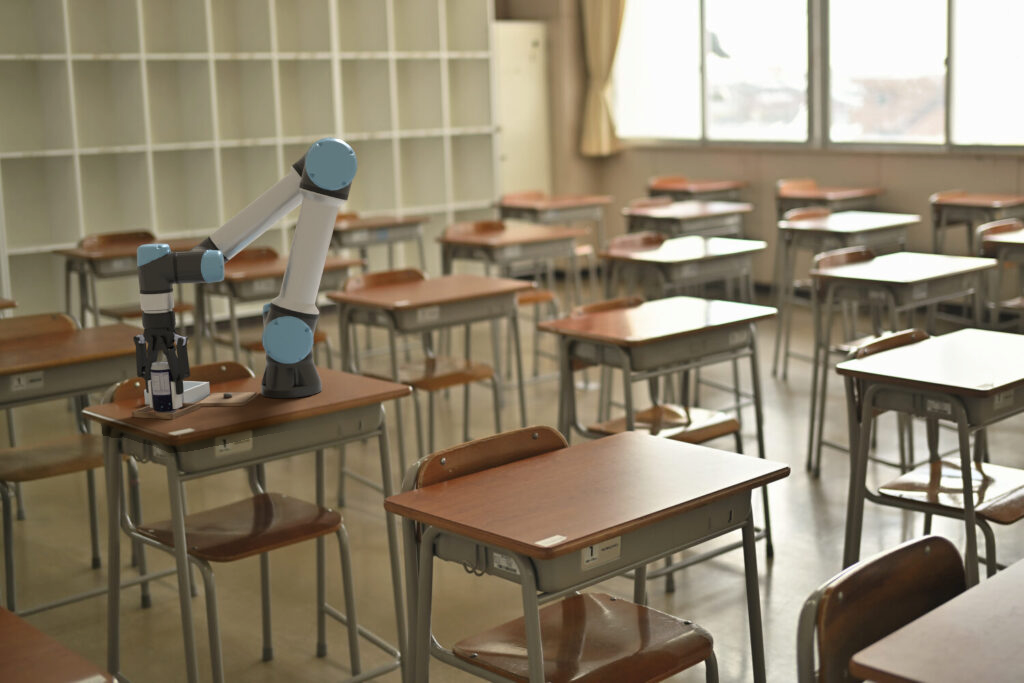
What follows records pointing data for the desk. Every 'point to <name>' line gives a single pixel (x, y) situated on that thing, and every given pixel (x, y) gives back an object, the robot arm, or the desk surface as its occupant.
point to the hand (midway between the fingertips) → (166, 406)
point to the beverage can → (162, 387)
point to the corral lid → (228, 399)
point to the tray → (190, 392)
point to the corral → (146, 414)
